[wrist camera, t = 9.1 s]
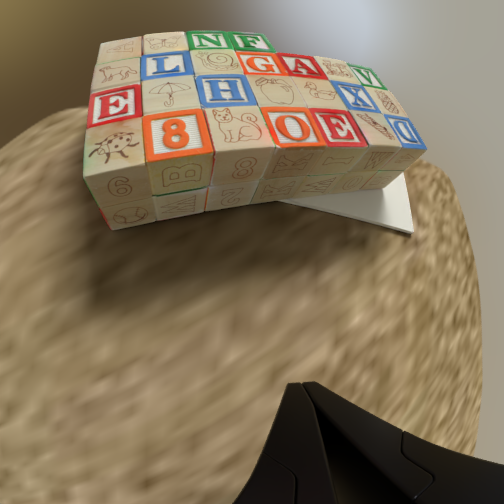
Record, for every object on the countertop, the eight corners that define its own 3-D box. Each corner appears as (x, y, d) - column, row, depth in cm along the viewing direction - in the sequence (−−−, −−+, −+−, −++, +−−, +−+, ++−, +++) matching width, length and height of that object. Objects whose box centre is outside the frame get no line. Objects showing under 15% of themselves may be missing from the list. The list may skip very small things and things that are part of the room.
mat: (410, 234, 22) (413, 232, 21) (100, 171, 18) (99, 168, 17) (387, 120, 27) (388, 118, 26) (157, 62, 22) (157, 59, 22)
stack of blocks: (384, 191, 22) (330, 91, 25) (430, 151, 16) (356, 47, 19) (108, 231, 16) (109, 100, 19) (77, 177, 10) (99, 41, 13)
